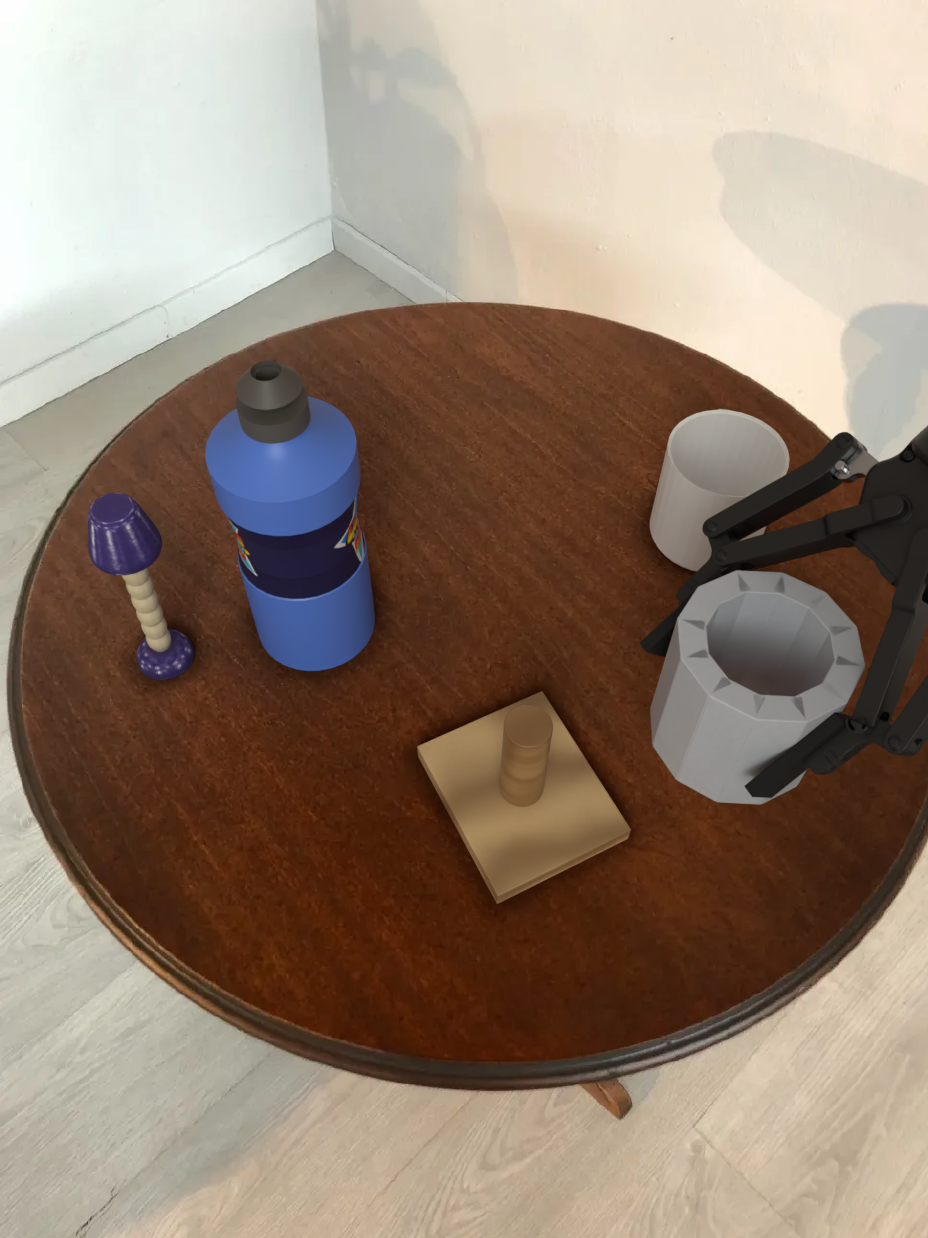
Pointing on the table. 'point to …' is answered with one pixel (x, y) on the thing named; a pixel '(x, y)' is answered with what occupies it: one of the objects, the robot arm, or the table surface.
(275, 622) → the water bottle
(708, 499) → the mug
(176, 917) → the table surface
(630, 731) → the table surface
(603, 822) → the stand
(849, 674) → the silver tape
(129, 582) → the toy lamp
